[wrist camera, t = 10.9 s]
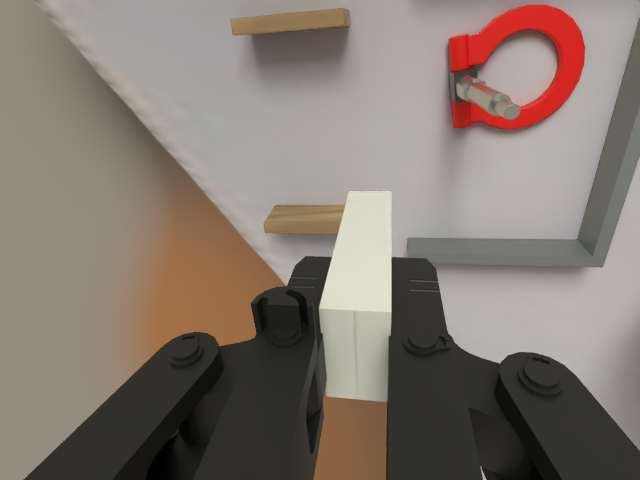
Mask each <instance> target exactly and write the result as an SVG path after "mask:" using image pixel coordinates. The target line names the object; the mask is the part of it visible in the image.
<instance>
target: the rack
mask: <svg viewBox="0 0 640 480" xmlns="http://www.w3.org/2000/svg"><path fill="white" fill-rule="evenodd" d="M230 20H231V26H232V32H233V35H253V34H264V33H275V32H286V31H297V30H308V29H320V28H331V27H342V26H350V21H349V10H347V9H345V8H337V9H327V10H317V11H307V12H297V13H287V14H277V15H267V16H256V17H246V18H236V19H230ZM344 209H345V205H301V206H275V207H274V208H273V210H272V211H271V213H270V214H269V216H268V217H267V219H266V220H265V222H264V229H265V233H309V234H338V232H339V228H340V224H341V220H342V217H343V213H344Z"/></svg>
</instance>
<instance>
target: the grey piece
mask: <svg viewBox="0 0 640 480" xmlns="http://www.w3.org/2000/svg"><path fill="white" fill-rule="evenodd" d="M639 156H640V20H639V23H638V27H637V30H636V34H635V38H634V41H633V45H632V48H631V52H630V55H629V59H628V62H627V66H626V70H625V73H624V77H623V80H622V84H621V87H620V91H619V94H618V98H617V102H616V105H615V109H614V112H613V116H612V119H611V123H610V126H609V130H608V134H607V137H606V141H605V144H604V148H603V151H602V155H601V158H600V162H599V165H598V169H597V173H596V176H595V180H594V183H593V187H592V190H591V194H590V197H589V201H588V205H587V208H586V212H585V215H584V219H583V222H582V226H581V229H580V233H579V237H578V240H545V239H453V238H408V258H426V259H427V260H428V261H429V262H430V263H432V264H477V265H521V266H566V267H603V265H604V262H605V259H606V256H607V253H608V250H609V247H610V244H611V241H612V238H613V235H614V232H615V229H616V226H617V223H618V220H619V217H620V214H621V211H622V208H623V205H624V202H625V199H626V196H627V193H628V190H629V187H630V184H631V181H632V177H633V174H634V171H635V168H636V165H637V162H638V159H639Z"/></svg>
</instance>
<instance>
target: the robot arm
mask: <svg viewBox="0 0 640 480" xmlns="http://www.w3.org/2000/svg"><path fill="white" fill-rule="evenodd" d="M251 307H252V312H253V317H254V322H255V327H256V333H257V334H256V336H255V338H253V339H251V340H248V341H244V342H240V343H235V344H230V345H225V346H219V345H218V343H217V341H216V339H215V338H214V337H213V336H211V335H209V334H207V333H200V332H193V333H188V334H183V335H181V336H179V337H176V338H174V339H172V340H171V341H169V342H168V343H167V344H166V345H164V346H163V347H162V348H160V350H158V351H157V352H156V353H155V354H154V355H153V356H152V357H151V358H150V359H149V360H148V361H147V362H146V363H145V364H144V365H143V366H142V367H141V368H140V369H139V370H138V371H137V372H135V373H134V374H133V375H132V376H131V377H130V378H129V379H128V380H127V381H126V382H125V383H124V384H123V385H122V386H121V387H120V388H119V389H118V390H117V391H116V392H115V393H114V394H113V395H111V396H110V397H109V398H108V399H107V400H106V401H105V402H104V403H103V404H102V405H101V406H100V407H99V408H98V409H97V410H96V411H95V412H94V413H93V414H92V415H91V416H90V417H89V418H87V420H85V422H83V423H82V424H81V425H80V426H79V427H78V428H77V429H76V430H75V431H74V432H73V433H72V434H71V435H70V436H69V437H68V438H67V439H66V440H65V441H64V442H63V443H61V444H60V445H59V446H58V447H57V448H56V449H55V450H54V451H53V452H52V453H51V454H50V455H49V456H48V457H47V458H46V459H45V460H44V461H43V462H42V463H41V464H40V465H39V466H37V467H36V468H35V469H34V470H33V471H32V472H31V473H30V474H29V475H28V476H27V477H26V478H25V479H24V480H313V478H314V472H315V466H316V460H317V454H318V448H319V442H320V437H321V431H322V424H323V419H324V413H323V396H324V391H325V386H326V394H327V396H328V397H338V398H349V399H360V400H371V401H381V402H387V442H386V445H387V454H386V480H483V478H482V473H481V468H480V466H481V467H482V470H483V473H484V475H485V477H486V479H487V480H640V451H639V450H638V449H637V447H636V446H635V445H634V444H633V443H632V442H631V440H630V439H629V438H628V437H627V436H626V434H625V433H624V432H623V431H622V430H621V428H620V427H619V426H618V425H617V424H616V423H615V421H614V420H613V419H612V418H611V417H610V415H609V414H608V413H607V412H606V411H605V410H604V408H603V407H602V406H601V405H600V404H599V402H598V401H597V400H596V399H595V398H594V397H593V395H592V394H591V393H590V392H589V391H588V389H587V388H586V387H585V386H584V385H583V384H582V382H581V381H580V380H579V379H578V378H577V376H576V375H575V374H573V373H572V372H571V371H570V370H569V369H568V368H567V367H566V366H565V365H563V364H561V363H559V362H557V361H556V360H554V359H552V358H550V357H547V356H544V355H540V354H537V353H528V352H518V353H515V354H512V355H508V356H507V357H506V358H505V359H504V360H503V361H502V362H501V364H499V363H496V362H492V361H489V360H486V359H483V358H480V357H477V356H474V355H472V354H470V353H468V352H466V351H465V350H463V349H461V348H460V347H459V346H458V345H457V344H455V343H454V340H453V338H452V337H451V336H450V335H449V334H448V331H447V327H446V322H445V316H444V311H443V306H442V300H441V295H440V289H439V284H438V278H437V273H436V268H435V267H434V266H433V265H432V264H431V263H430V262H429V261H428V260H427V259H426V258H396V257H391V191H349V193H348V197H347V201H346V205H345V209H344V213H343V217H342V220H341V224H340V228H339V232H338V236H337V240H336V244H335V248H334V251H333V255H332V257H314V256H306V257H304V258H303V259H302V260H301V261H300V262H299V263H298V264H296V265H295V268H294V270H293V273H292V275H291V278H290V280H289V283H288V286H284V287H276V288H273V289H270V290H267V291H264V292H263V293H261V294H260V295H258V296H257V297H256V298H255V299H254V300H253V301H252V303H251Z"/></svg>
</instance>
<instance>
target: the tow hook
mask: <svg viewBox="0 0 640 480" xmlns="http://www.w3.org/2000/svg"><path fill="white" fill-rule="evenodd" d="M523 30H536V31H539V32H542V33H544V34H545V35H547V36H548V37H549V38H551V40H552V41H553V43H554V44H555V46H556V49H557V53H558V68H557V71H556V75H555V77H554V79H553V81H552V83H551V85H550V86H549V88H548V89H547V90H546V91H545V92H544V94H543V95H541V96H540V97H539V98H538V99H536V100H535V101H534V102H531V103H529V104H527V105H525V106H522V107H519V106H518V105H516V104H514V103H512V102H511V100H510V97H509V96H508V95H506V94H504V93H502V92H499V91H497V90H495V89H493V88H491V87H488V86H486V83H485V82H484V81H482V80H479V79H477V69H475V68H472V67H470V66H474V65H478V64H483V63H485V62H486V61H487V60H488V57H489V55H490V54H491V53H492V51H493V50H494V49H495V47H496V46H497V45H498V44H499V43H500V42H502V41H503V40H504V39H505V38H507V37H508V36H510V35H512V34H514V33H516V32H520V31H523ZM584 54H585V46H584V42H583V38H582V34H581V31H580V29H579V28H578V26H577V25H576V23H575V22H574V20H573V19H572V18H571V17H570V16H568V15H567V14H566V13H564V12H563V11H562V10H560V9H557V8H553V7H550V6H547V5H527V6H523V7H519V8H516V9H513V10H509V11H507V12H506V13H504V14H502V15H500V16H499V17H497V18H495V19H493V20H492V21H491V22H490V23H489V24H488V25H487V26H486V27H485V28H484V29H482V30H481V31H480V32H479V34H476V35H471V36H469V35H468V34H465V35H460V36H456V37H452V38H449V55H450V71H449V80H450V97H451V99H452V111H453V128H466V127H469V126H471V123H474V122H479V121H483V122H485V123H486V124H488V125H491V126H494V127H497V128H500V129H517V128H522V127H526V126H531V125H533V124H535V123H537V122H539V121H541V120H543V119H545V118H547V117H548V116H549V115H551V114H552V113H553V112H555V111H556V110H557V109H559V108H560V106H561V105H562V104H563V103H564V102H565V101H566V100H567V99H568V97H569V96H570V95H571V93H572V92H573V90H574V88H575V86H576V85H577V83H578V81H579V79H580V75H581V72H582V69H583V66H584Z"/></svg>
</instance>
